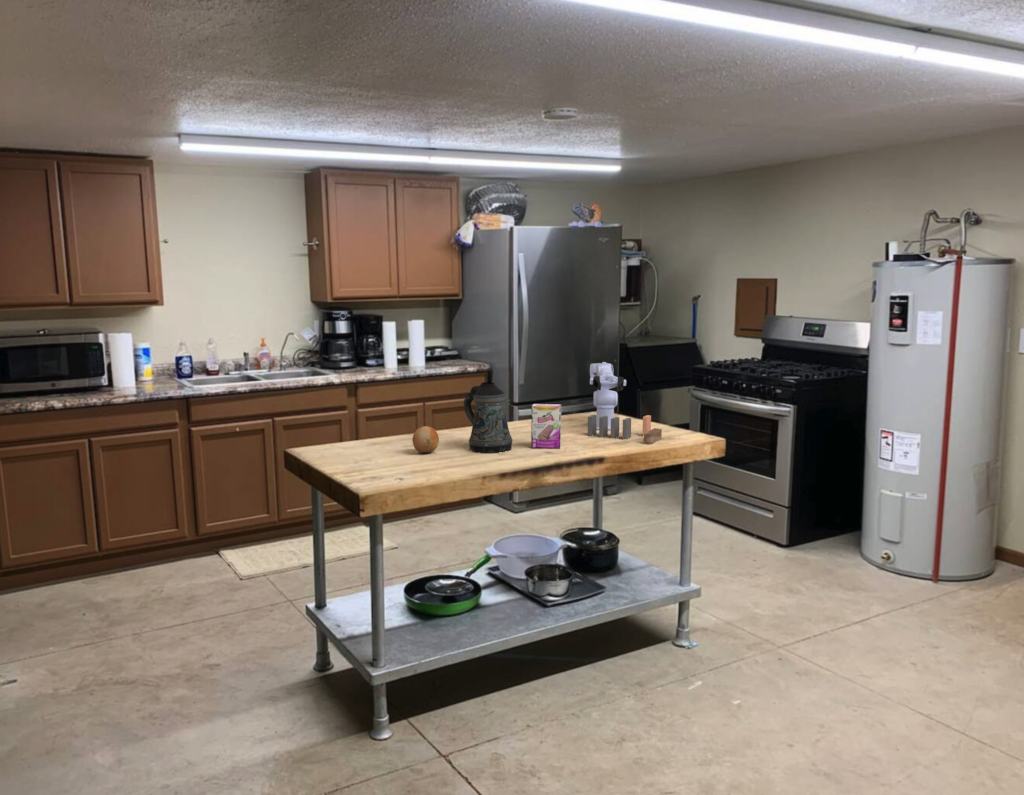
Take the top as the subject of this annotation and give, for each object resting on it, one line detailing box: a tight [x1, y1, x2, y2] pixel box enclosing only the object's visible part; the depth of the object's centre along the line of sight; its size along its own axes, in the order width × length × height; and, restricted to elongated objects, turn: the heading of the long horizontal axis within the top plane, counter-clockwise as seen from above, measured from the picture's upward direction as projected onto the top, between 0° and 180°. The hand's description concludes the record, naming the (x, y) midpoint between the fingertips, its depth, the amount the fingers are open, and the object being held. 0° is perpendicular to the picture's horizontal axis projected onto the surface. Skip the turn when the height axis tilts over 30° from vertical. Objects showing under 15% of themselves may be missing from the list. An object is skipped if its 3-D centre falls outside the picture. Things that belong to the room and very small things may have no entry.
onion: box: [412, 425, 440, 454], centre depth 296 cm, size 10×10×10 cm
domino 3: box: [610, 416, 620, 439], centre depth 321 cm, size 2×5×8 cm, turn 150°
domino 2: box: [598, 416, 609, 438], centre depth 323 cm, size 2×5×8 cm, turn 150°
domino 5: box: [642, 414, 652, 437], centre depth 323 cm, size 2×5×8 cm, turn 150°
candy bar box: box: [530, 403, 562, 450], centre depth 303 cm, size 11×5×16 cm, turn 84°
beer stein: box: [463, 381, 513, 454], centre depth 301 cm, size 16×19×25 cm
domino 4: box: [621, 417, 632, 440], centre depth 318 cm, size 2×5×8 cm, turn 150°
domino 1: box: [587, 414, 597, 437], centre depth 326 cm, size 2×5×8 cm, turn 150°
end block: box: [643, 427, 663, 445], centre depth 313 cm, size 3×12×4 cm, turn 150°
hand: (609, 388), depth 317 cm, fingers open, 7 cm apart
